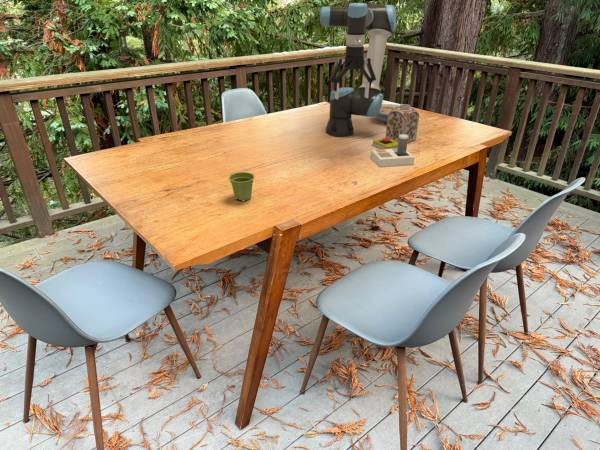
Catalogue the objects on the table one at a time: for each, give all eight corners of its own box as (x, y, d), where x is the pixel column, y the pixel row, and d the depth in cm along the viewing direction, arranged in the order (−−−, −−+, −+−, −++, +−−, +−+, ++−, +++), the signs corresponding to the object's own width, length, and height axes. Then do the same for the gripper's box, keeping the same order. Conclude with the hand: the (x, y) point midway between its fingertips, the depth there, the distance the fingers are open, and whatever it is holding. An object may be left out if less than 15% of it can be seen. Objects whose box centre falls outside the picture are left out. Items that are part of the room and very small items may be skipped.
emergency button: (384, 134, 211) (405, 142, 200) (383, 142, 213) (404, 151, 202) (370, 137, 206) (391, 146, 195) (369, 145, 209) (389, 155, 198)
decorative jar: (402, 145, 208) (407, 109, 199) (384, 139, 216) (388, 104, 207) (416, 140, 215) (422, 105, 206) (398, 134, 223) (402, 100, 214)
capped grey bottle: (394, 159, 191) (397, 134, 185) (402, 159, 192) (406, 133, 186) (398, 162, 188) (401, 137, 182) (406, 162, 188) (409, 136, 182)
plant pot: (231, 192, 160) (229, 172, 156) (255, 192, 161) (254, 171, 156) (229, 204, 152) (227, 182, 148) (255, 203, 153) (254, 181, 148)
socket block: (370, 157, 194) (371, 149, 192) (402, 155, 196) (403, 147, 194) (379, 167, 183) (380, 158, 181) (413, 164, 186) (414, 156, 184)
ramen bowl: (369, 114, 256) (371, 101, 252) (407, 116, 253) (409, 102, 249) (370, 126, 234) (371, 112, 230) (411, 128, 232) (413, 114, 228)
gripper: (328, 47, 165) (326, 101, 176) (387, 46, 170) (381, 98, 181) (323, 45, 172) (321, 97, 183) (380, 43, 176) (375, 94, 187)
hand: (351, 98), depth 182 cm, fingers open, 13 cm apart
